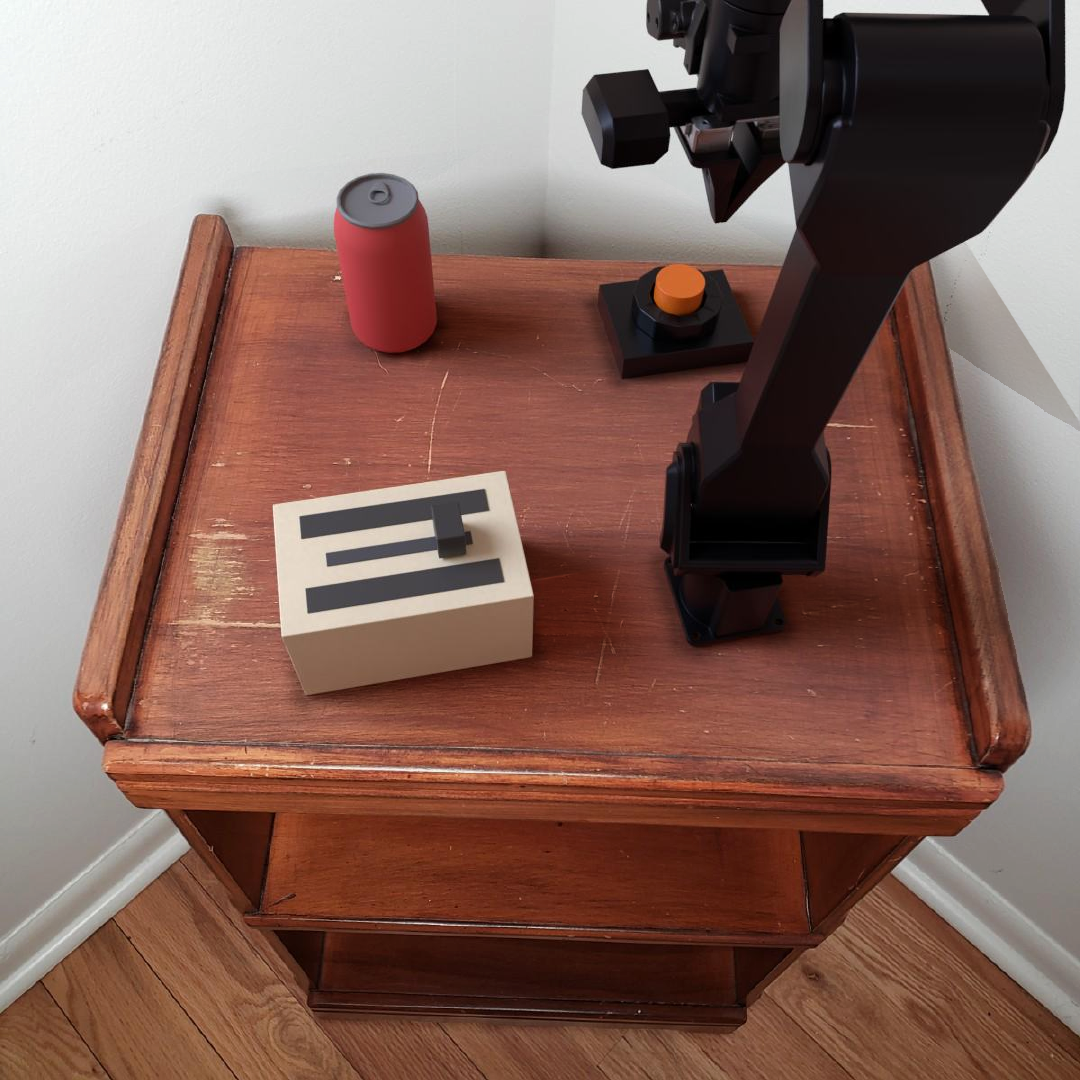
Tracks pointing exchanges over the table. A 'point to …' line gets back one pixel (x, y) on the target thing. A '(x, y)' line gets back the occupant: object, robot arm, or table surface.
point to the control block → (672, 328)
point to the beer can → (385, 262)
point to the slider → (448, 529)
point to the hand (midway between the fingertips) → (718, 218)
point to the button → (679, 289)
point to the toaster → (401, 584)
